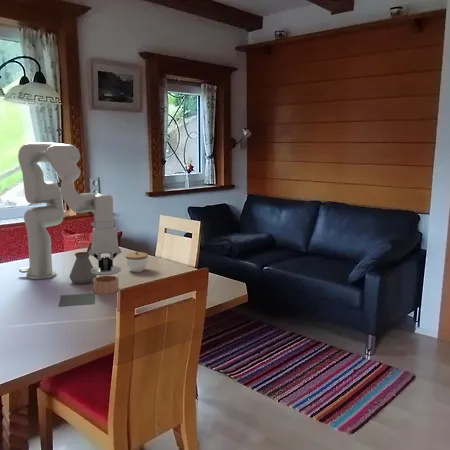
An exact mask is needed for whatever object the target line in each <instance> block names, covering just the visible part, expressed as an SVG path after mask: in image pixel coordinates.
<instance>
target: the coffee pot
mask: <svg viewBox="0 0 450 450" xmlns="http://www.w3.org/2000/svg"><path fill="white" fill-rule="evenodd" d="M91 247H92V241H91V242H89V245H88V247H87V250H86V251H79V252H75V253H74V256H75V257H76V258H75V262H74V264H73V266H72V268H71V270H70V274H69V279H70V280H71V282H73V284H76V285H85V284H93V279H94V278H96V277H98V275H94V274H92V273H91V269H92V268H94V266H93V264H92V261H91V259H90V256H91V255H89V251H90V249H91Z"/></svg>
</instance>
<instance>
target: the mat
mask: <svg viewBox="0 0 450 450" xmlns="http://www.w3.org/2000/svg"><path fill="white" fill-rule="evenodd" d="M95 293H96V292H90V293H89V292H88V293H77V294H62V295H60V297H59V302H58V308H60V307H61V308H62V307H64V308H65V307H74V306H87V305H88V306H89V305H90V306H91V305H95V304H96V294H95Z"/></svg>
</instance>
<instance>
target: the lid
mask: <svg viewBox="0 0 450 450" xmlns="http://www.w3.org/2000/svg"><path fill="white" fill-rule="evenodd" d="M109 258H110V256H101V259H102V270H100V268H99V266H95V267H93V268H92V269H91V273H92V274H94V275H97V276H106V275H111V276H113V275H115V274H119V273H120V272H121V271H122V268H121V267H120V266H117V265H113V267H111V270H110V269H109Z"/></svg>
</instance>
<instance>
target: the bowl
mask: <svg viewBox="0 0 450 450" xmlns="http://www.w3.org/2000/svg"><path fill="white" fill-rule="evenodd" d="M92 284H93V285H92V286H93V287H92V288H93V293H96V294H101V295H102V294H103V295H104V294H105V295H106V294H112V293H116V292H118V291H119V290H120V289H119V277H118V276H116V275H98V276H96V278H94V279H93V282H92Z"/></svg>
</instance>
